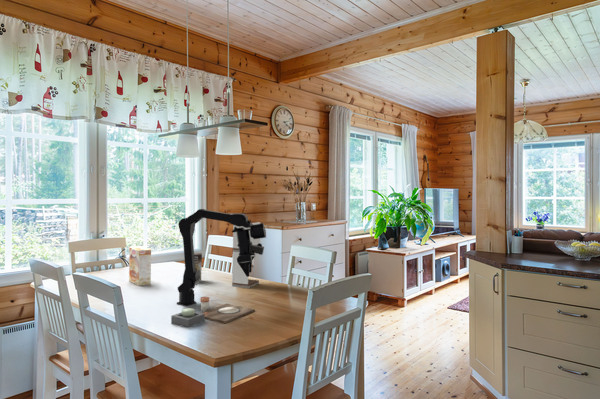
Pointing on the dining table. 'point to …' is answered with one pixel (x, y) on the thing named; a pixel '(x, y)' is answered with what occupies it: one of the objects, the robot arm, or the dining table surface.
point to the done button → (188, 312)
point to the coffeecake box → (140, 265)
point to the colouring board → (226, 313)
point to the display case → (237, 273)
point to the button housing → (187, 319)
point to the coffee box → (198, 262)
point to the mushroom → (204, 303)
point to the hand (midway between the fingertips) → (249, 274)
